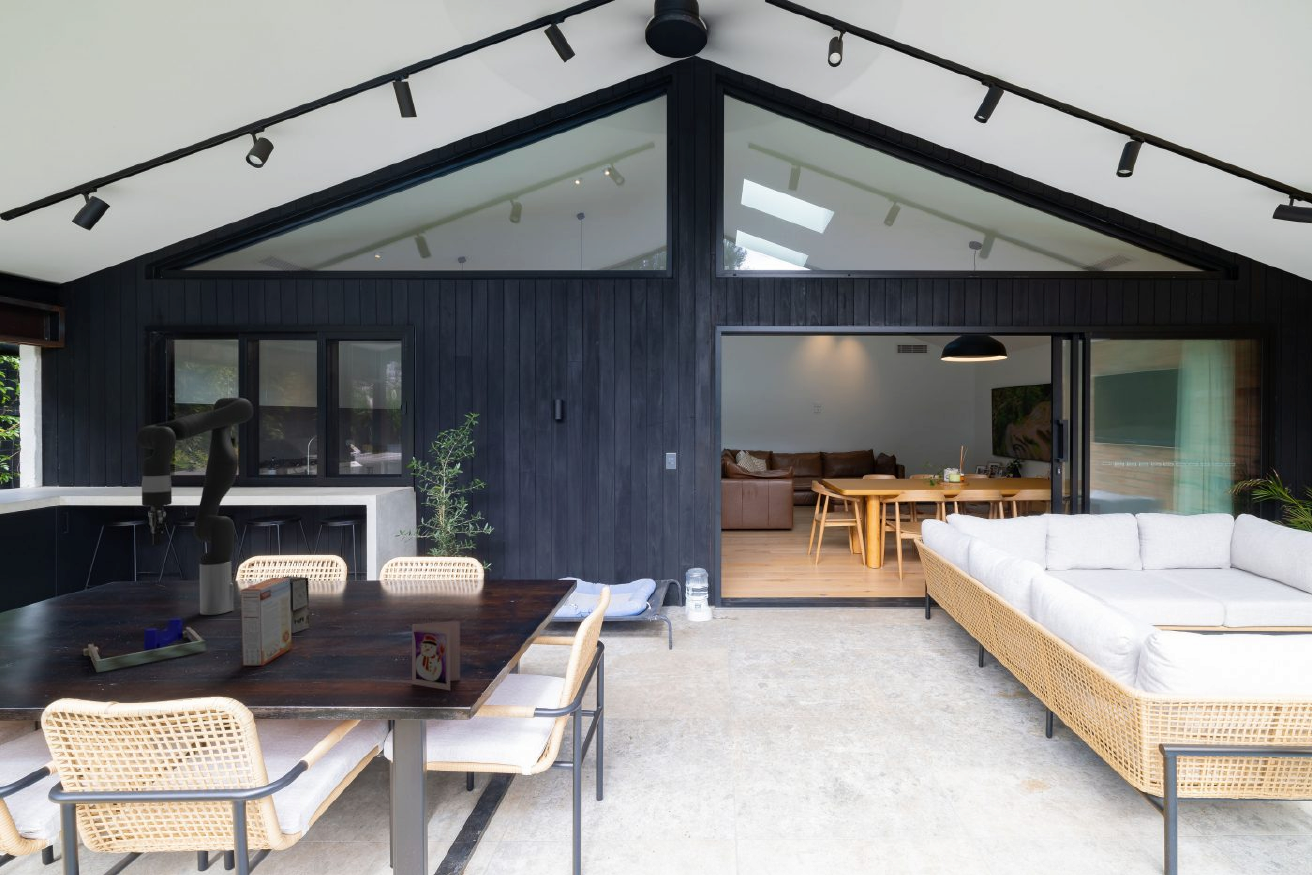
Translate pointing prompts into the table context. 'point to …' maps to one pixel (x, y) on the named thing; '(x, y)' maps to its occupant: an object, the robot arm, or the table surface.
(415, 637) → the greeting card
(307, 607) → the coffee box
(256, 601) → the cracker box
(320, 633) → the table surface
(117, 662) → the grey-green open frame
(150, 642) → the blue notched block
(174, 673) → the table surface
